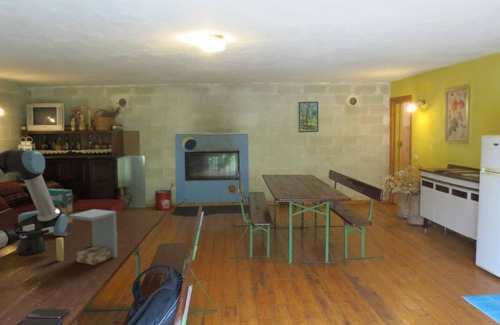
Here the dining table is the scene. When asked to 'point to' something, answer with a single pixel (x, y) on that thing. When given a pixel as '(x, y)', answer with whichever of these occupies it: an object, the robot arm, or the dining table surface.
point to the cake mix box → (64, 206)
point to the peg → (59, 249)
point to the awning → (101, 228)
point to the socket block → (93, 255)
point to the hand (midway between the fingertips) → (43, 227)
